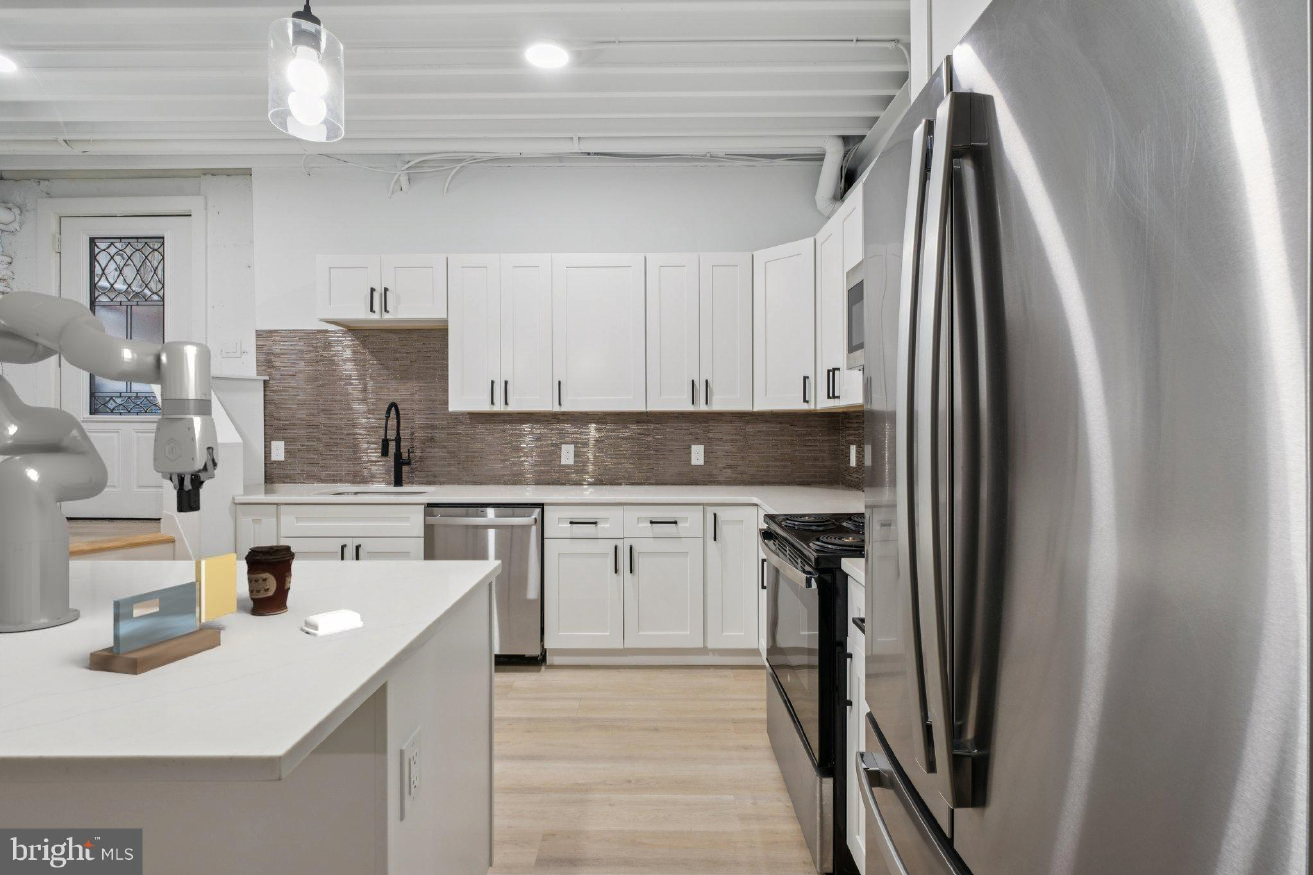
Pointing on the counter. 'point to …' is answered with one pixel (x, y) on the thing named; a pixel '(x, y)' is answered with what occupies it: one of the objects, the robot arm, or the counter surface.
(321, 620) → the soap
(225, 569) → the yellow flat slab
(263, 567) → the coffee cup
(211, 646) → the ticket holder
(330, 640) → the counter surface
